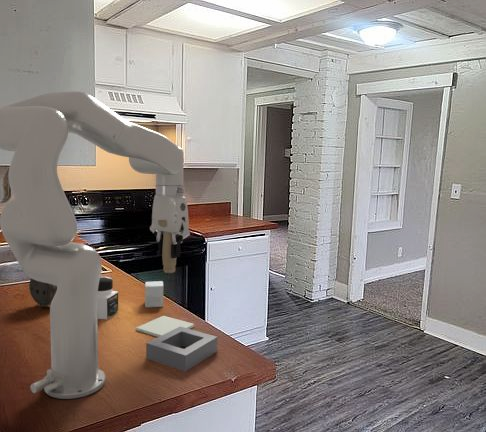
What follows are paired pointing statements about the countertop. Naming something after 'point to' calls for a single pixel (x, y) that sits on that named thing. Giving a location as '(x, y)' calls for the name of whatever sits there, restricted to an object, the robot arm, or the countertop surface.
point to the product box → (154, 294)
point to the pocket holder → (179, 358)
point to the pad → (163, 326)
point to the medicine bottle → (106, 299)
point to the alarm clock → (42, 292)
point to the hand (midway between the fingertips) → (169, 255)
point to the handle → (167, 250)
